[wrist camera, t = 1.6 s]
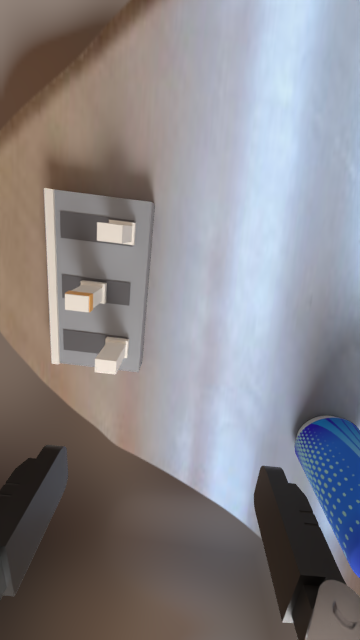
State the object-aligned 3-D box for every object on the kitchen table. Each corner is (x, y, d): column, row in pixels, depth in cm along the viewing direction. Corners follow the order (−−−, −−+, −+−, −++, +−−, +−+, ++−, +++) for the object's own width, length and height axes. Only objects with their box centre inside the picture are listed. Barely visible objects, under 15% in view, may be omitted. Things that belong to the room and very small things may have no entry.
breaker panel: (56, 191, 27) (11, 178, 20) (154, 204, 27) (143, 195, 20) (61, 352, 32) (27, 384, 26) (142, 361, 33) (130, 396, 26)
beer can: (304, 404, 34) (397, 544, 19) (365, 417, 34) (506, 564, 19) (282, 454, 37) (348, 611, 22) (339, 465, 37) (444, 627, 22)
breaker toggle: (82, 280, 26) (62, 290, 22) (106, 283, 26) (90, 293, 22) (82, 299, 27) (62, 312, 23) (106, 302, 27) (90, 316, 23)
